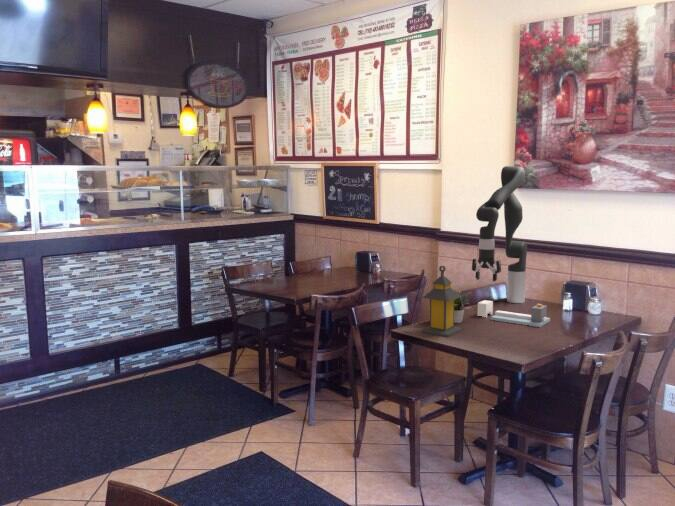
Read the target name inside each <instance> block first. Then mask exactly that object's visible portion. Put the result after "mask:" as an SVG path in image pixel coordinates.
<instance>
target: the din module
mask: <svg viewBox="0 0 675 506" xmlns="http://www.w3.org/2000/svg"><path fill="white" fill-rule="evenodd" d="M493 312H494V301H493V300H486V299H483V300H481V301H479V302H477V317H478V316H482V317H481V318H485V317H486V318H488V314H490V315H491V316H493V314H494V313H493Z"/></svg>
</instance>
